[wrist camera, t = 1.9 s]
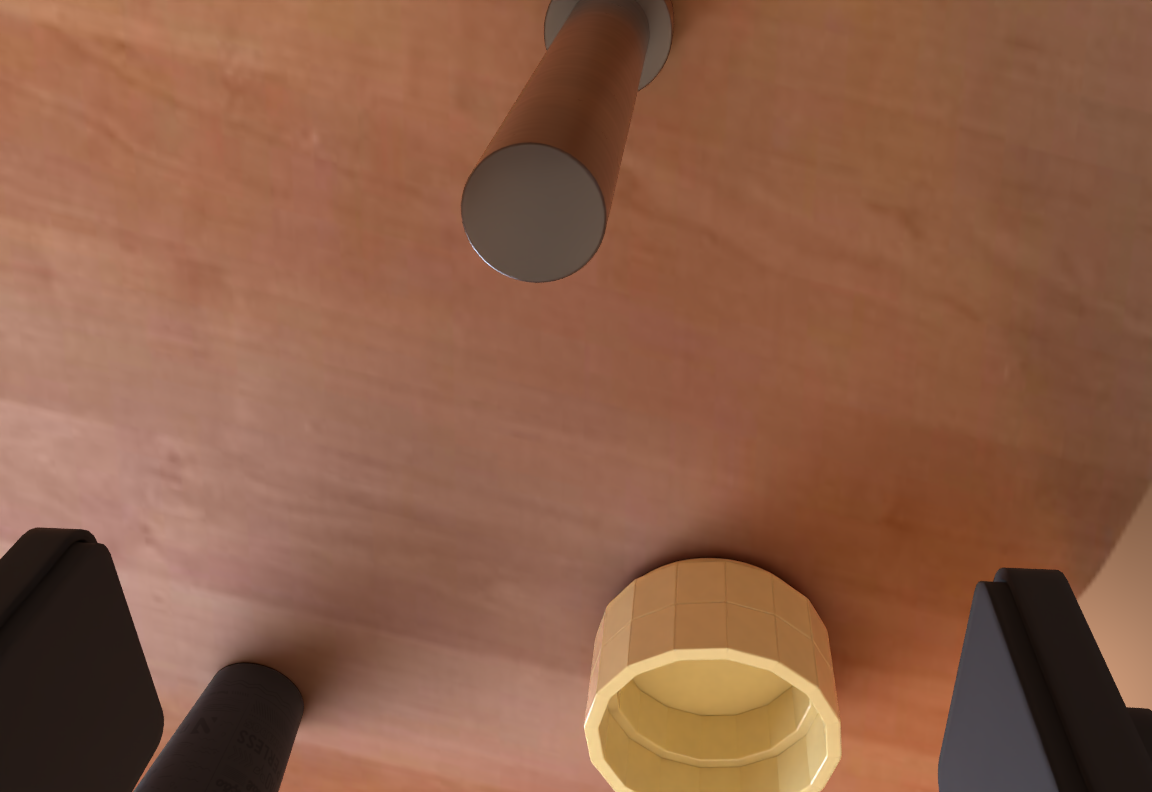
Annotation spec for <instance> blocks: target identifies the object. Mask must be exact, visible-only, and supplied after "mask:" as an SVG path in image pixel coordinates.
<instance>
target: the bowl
mask: <svg viewBox="0 0 1152 792" xmlns="http://www.w3.org/2000/svg"><path fill="white" fill-rule="evenodd" d="M584 730H585V735H586V740H587V745H588V750H589V754H590V759H591V762H592V763H593V764H594V766H595V767H596V768H597V769H598V771H599V772H600V773H601V774H602V776H603V777H604V778H605V779H606V781H607V782H608V783H609V784H610V786H611V787H612V788H613V789H614V791H616V792H820V791H821V790H822V789H823V788H824V787H825V785H826V783H827V782H828V780H829V778H830V777H831V775H832V773H833V771H834V770H835V768H836V766H837V765H838V763H839V761H840V759H841V756H842V745H841V720H840V713H839V706H838V699H837V692H836V685H835V679H834V672H833V665H832V658H831V651H830V644H829V637H828V631H827V628H826V627H825V625H824V624H823V622H822V620H821V619H820V617H819V615H818V614H817V612H816V611H815V609H814V607H813V606H812V604H811V602H810V601H809V599H808V598H806V597H805V596H804V595H802V594H801V593H799V592H798V591H797V590H795V589H794V588H792V587H791V586H789V585H788V584H787V583H785V582H784V581H783V580H782V579H780V578H778V577H777V576H775V575H773V574H772V573H770V572H768V571H766V570H764V569H761V568H759V567H757V566H754V565H751V564H747V563H744V562H740V561H735V560H730V559H721V558H697V559H687V560H682V561H678V562H673V563H670V564H667V565H664V566H661V567H659V568H657V569H655V570H653V571H650V572H649V573H647V574H645V575H644V576H642V577H639V578H637V579H635V580H634V581H633V582H631V583H630V584H629V585H628V586H627V587H626V588H625V589H624V590H623V591H622V592H621V593H620V594H619V595H618V596H616V597H615V598H614V599H613V600H612V601H611V602H610V603H609V604H608V605H607V607H606V610H605V612H604V615H603V618H602V621H601V624H600V626H599V629H598V632H597V635H596V638H595V646H594V653H593V661H592V669H591V676H590V684H589V691H588V699H587V707H586V714H585V722H584Z"/></svg>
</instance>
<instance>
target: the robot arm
mask: <svg viewBox="0 0 1152 792" xmlns="http://www.w3.org/2000/svg"><path fill="white" fill-rule="evenodd" d="M163 727H164V716H163V711H162V708H161V705H160V702H159V699H158V695H157V692H156V689H155V686H154V683H153V680H152V677H151V674H150V671H149V668H148V665H147V662H146V659H145V656H144V653H143V650H142V647H141V644H140V641H139V638H138V635H137V632H136V629H135V626H134V623H133V620H132V617H131V614H130V611H129V608H128V605H127V602H126V599H125V596H124V593H123V590H122V587H121V584H120V581H119V578H118V575H117V572H116V569H115V566H114V563H113V560H112V557H111V554H110V552H109V550H108V548H107V547H106V546H105V545H104V544H100V543H97V541H96V539H95V537H94V535H92V534H91V533H90V532H89V531H87V530H82V529H60V528H34V529H31V530H29V531H27V532H26V533H25V534H24V535H22V536H21V538H20V539H19V540H18V541H17V542H16V543H15V544H14V545H13V546H12V547H11V548H10V549H9V551H8V552H7V553H6V554H5V555H4V556H3V557H2V558H1V559H0V792H132V791H133V789H134V787H135V786H136V784H137V782H138V780H139V779H140V777H141V775H142V773H143V772H144V770H145V768H146V766H147V765H148V763H149V761H150V759H151V758H152V756H153V754H154V752H155V751H156V749H157V747H158V745H159V743H160V740H161V737H162V733H163ZM938 784H939V792H1152V711H1151V710H1150V709H1144V708H1128V707H1126V706H1125V703H1124V701H1123V699H1122V697H1121V695H1120V693H1119V691H1118V688H1117V686H1116V684H1115V682H1114V680H1113V678H1112V676H1111V673H1110V671H1109V669H1108V667H1107V665H1106V662H1105V660H1104V658H1103V656H1102V654H1101V652H1100V650H1099V647H1098V645H1097V643H1096V641H1095V639H1094V637H1093V634H1092V632H1091V630H1090V628H1089V626H1088V624H1087V622H1086V619H1085V617H1084V615H1083V613H1082V611H1081V609H1080V606H1079V605H1078V602H1077V600H1076V598H1075V596H1074V594H1073V591H1072V589H1071V587H1070V585H1069V583H1068V581H1067V579H1066V577H1065V576H1064V574H1063V573H1062V572H1060V571H1059V570H1046V569H1022V568H1001V569H999V570H998V571H997V573H996V574H995V578H994V581H993V582H988V581H980V582H978V584H977V585H976V588H975V591H974V596H973V601H972V605H971V610H970V615H969V620H968V624H967V629H966V634H965V639H964V643H963V648H962V653H961V658H960V662H959V667H958V672H957V677H956V681H955V686H954V691H953V696H952V700H951V705H950V710H949V715H948V719H947V724H946V729H945V734H944V738H943V743H942V748H941V753H940V757H939V764H938Z"/></svg>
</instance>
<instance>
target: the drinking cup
mask: <svg viewBox="0 0 1152 792" xmlns="http://www.w3.org/2000/svg"><path fill="white" fill-rule="evenodd" d="M303 711H304V703H303V699H302V696H301V694H300V692H299V690H298V689H297V688H296V686H295V685H294V684H293V683H292V682H291V681H290V680H289V679H288V678H286V677H285V676H284V675H282V674H280V673H279V672H277V671H275V670H273V669H270V668H268V667H265V666H261V665H257V664H249V663H241V664H234V665H230V666H228V667H225V668H223V669H222V670H220V671H219V672H218V673H217V674H216V675H215V676H214V678H213V679H212V680H211V682H210V683H209V685H208V686H207V688H206V689H205V690H204V692H203V693H202V695H201V696H200V697H199V699H198V700H197V702H196V703H195V705H194V706H193V707H192V709H191V710H190V712H189V713H188V715H187V716H186V717H185V719H184V720H183V722H182V723H181V725H180V726H179V727H178V729H177V730H176V732H175V733H174V735H173V736H172V737H171V739H170V740H169V742H168V743H167V744H166V746H165V747H164V749H163V750H162V752H161V753H160V754H159V756H158V757H157V759H156V760H155V762H154V763H153V764H152V766H151V767H150V769H149V770H148V772H147V773H146V774H145V776H144V777H143V779H142V780H141V782H140V783H139V784H138V786H137V787H136V789H135V790H134V791H133V792H278V791H279V788H280V785H281V782H282V779H283V775H284V772H285V769H286V766H287V763H288V759H289V756H290V753H291V750H292V747H293V744H294V740H295V737H296V734H297V731H298V728H299V724H300V721H301V718H302V715H303Z"/></svg>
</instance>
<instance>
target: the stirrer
mask: <svg viewBox="0 0 1152 792" xmlns="http://www.w3.org/2000/svg"><path fill="white" fill-rule="evenodd" d="M673 29H674V12H673V6H672V2H671V0H551V2H550V4H549V7H548V10H547V13H546V17H545V23H544V39H545V45H546V50H547V52H546V53H545V55H544V57H543V58H542V60H541V61H540V63H539V65H538V66H537V68H536V69H535V71H534V73H533V74H532V76H531V78H530V79H529V81H528V82H527V84H526V86H525V87H524V89H523V90H522V92H521V94H520V95H519V97H518V98H517V100H516V102H515V103H514V105H513V107H512V108H511V110H510V111H509V113H508V115H507V116H506V118H505V119H504V121H503V123H502V124H501V126H500V127H499V129H498V131H497V132H496V134H495V136H494V137H493V139H492V140H491V142H490V144H489V145H488V147H487V148H486V150H485V152H484V153H483V155H482V156H481V158H480V160H479V161H478V163H477V165H476V166H475V168H474V169H473V171H472V173H471V174H470V176H469V177H468V180H467V182H466V184H465V187H464V190H463V194H462V200H461V216H462V223H463V226H464V230H465V233H466V235H467V237H468V240H469V241H470V243H471V245H472V247H473V248H474V249H475V251H476V252H477V253H478V255H479V256H480V257H481V258H482V259H483V260H484V261H485V262H486V263H487V264H488V265H490V266H491V267H492V268H494V269H495V270H497V271H498V272H500V273H502V274H504V275H506V276H508V277H511V278H514V279H516V280H520V281H525V282H534V283H541V282H551V281H556V280H559V279H563V278H565V277H567V276H570V275H572V274H573V273H575V272H577V271H578V270H580V269H581V268H582V267H584V266H585V265H586V264H587V263H588V262H589V261H590V260H591V259H592V258H593V256H594V255H595V253H596V252H597V250H598V249H599V247H600V245H601V243H602V240H603V237H604V234H605V230H606V225H607V221H608V217H609V212H610V208H611V204H612V199H613V195H614V191H615V186H616V182H617V178H618V174H619V169H620V165H621V161H622V156H623V152H624V148H625V143H626V139H627V135H628V130H629V126H630V122H631V117H632V113H633V109H634V104H635V100H636V96H637V92H638V91H640V90H641V89H643V88H644V87H646V86H647V85H648V84H649V83H650V82H652V81H653V80H654V78H655V77H656V76H657V75H658V74H659V72H660V71H661V69H662V68H663V66H664V64H665V62H666V60H667V58H668V55H669V52H670V48H671V44H672V37H673Z"/></svg>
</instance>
